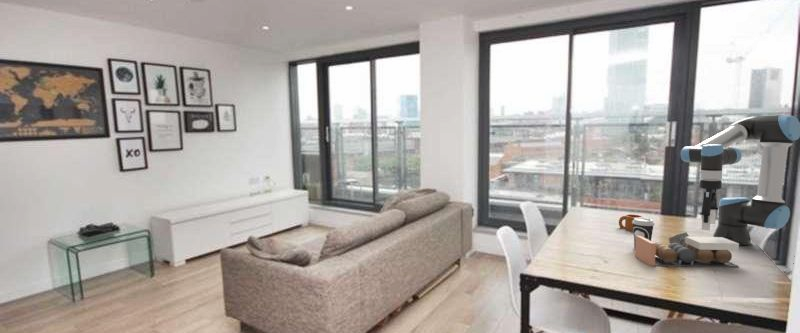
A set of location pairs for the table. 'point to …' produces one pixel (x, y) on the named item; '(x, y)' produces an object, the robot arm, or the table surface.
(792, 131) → the robot arm
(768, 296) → the table surface
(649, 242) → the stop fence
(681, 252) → the roller
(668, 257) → the roller
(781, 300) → the table surface
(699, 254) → the roller
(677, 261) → the roller bed
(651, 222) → the coffee cup
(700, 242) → the slab
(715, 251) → the roller
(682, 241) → the mineral specimen
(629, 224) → the mug
